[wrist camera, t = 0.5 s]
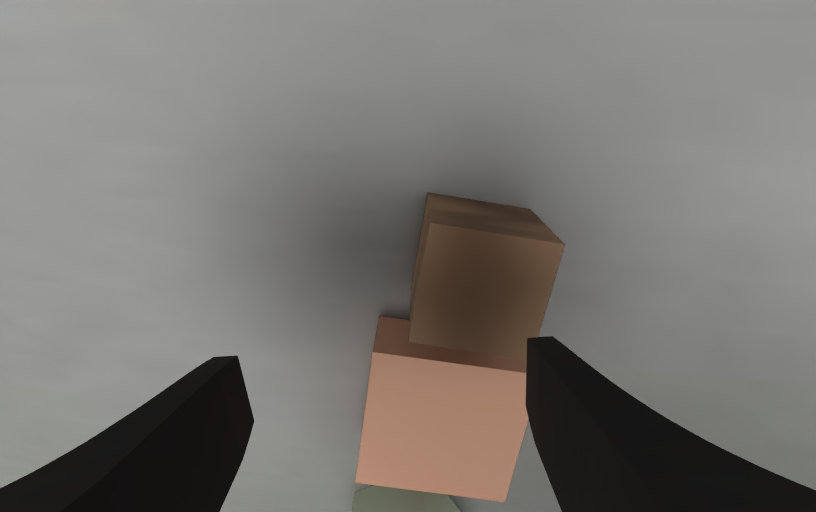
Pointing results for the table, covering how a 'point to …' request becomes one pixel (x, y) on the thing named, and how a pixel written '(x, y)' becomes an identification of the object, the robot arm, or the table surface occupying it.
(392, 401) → the base block
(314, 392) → the table surface
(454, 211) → the walnut block
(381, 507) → the sage block
